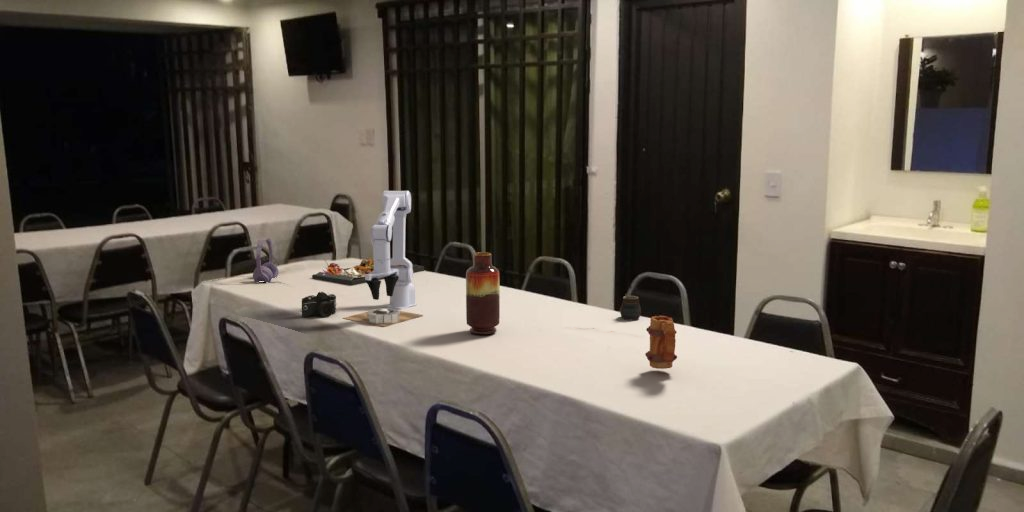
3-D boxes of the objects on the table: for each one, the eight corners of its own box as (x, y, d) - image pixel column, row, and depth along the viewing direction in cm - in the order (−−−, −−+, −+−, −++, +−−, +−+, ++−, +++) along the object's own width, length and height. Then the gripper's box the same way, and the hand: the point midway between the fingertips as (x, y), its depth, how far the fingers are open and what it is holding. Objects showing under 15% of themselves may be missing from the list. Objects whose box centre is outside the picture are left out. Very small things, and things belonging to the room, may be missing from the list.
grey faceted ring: (383, 315, 295) (382, 306, 295) (405, 319, 289) (405, 310, 288) (360, 320, 286) (360, 312, 286) (383, 325, 280) (383, 316, 280)
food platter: (352, 291, 342) (351, 267, 341) (312, 285, 356) (311, 261, 355) (424, 275, 379) (423, 253, 377) (385, 270, 393) (384, 249, 391)
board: (382, 308, 307) (382, 307, 307) (423, 316, 295) (423, 314, 295) (342, 319, 291) (342, 318, 291) (383, 326, 279) (383, 325, 279)
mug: (642, 362, 237) (643, 311, 234) (670, 362, 237) (671, 311, 235) (655, 378, 222) (656, 323, 220) (684, 377, 223) (686, 323, 221)
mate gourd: (643, 318, 292) (644, 290, 291) (637, 322, 285) (638, 294, 284) (623, 316, 295) (624, 288, 294) (617, 320, 288) (617, 292, 287)
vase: (504, 328, 277) (504, 251, 273) (492, 336, 267) (492, 256, 263) (473, 326, 281) (473, 250, 277) (461, 333, 270) (460, 255, 266)
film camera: (303, 322, 287) (312, 297, 285) (295, 312, 293) (303, 287, 291) (337, 325, 296) (346, 300, 294) (329, 315, 302) (337, 291, 299)
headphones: (269, 287, 349) (266, 240, 346) (249, 287, 349) (247, 240, 346) (281, 279, 367) (279, 234, 364) (263, 279, 367) (261, 234, 364)
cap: (383, 317, 291) (382, 307, 290) (393, 319, 288) (393, 309, 288) (373, 320, 287) (372, 310, 286) (383, 322, 284) (383, 312, 284)
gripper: (388, 255, 292) (389, 292, 295) (358, 260, 281) (359, 299, 283) (402, 257, 288) (403, 295, 290) (373, 262, 277) (374, 302, 279)
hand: (382, 297), depth 286 cm, fingers open, 6 cm apart
